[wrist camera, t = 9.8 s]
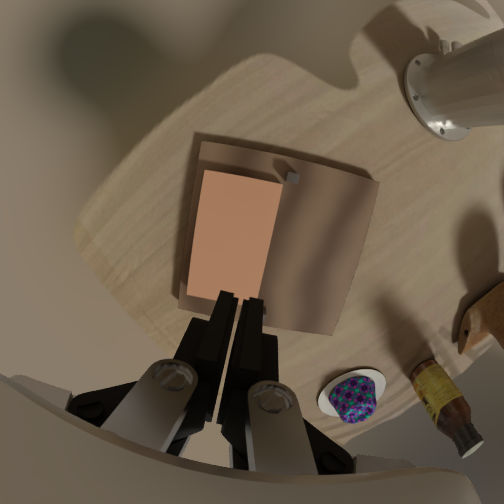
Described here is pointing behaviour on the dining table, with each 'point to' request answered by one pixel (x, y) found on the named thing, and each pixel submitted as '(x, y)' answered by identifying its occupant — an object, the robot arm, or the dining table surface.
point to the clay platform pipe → (483, 320)
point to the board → (295, 236)
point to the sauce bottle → (446, 406)
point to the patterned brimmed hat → (353, 395)
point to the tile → (232, 235)
